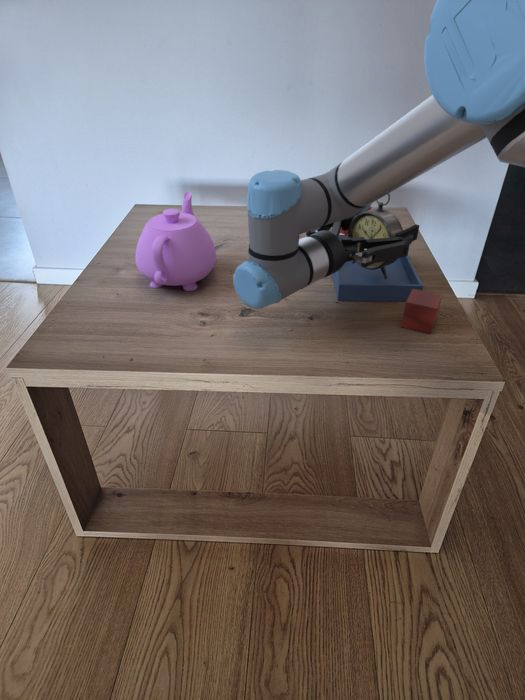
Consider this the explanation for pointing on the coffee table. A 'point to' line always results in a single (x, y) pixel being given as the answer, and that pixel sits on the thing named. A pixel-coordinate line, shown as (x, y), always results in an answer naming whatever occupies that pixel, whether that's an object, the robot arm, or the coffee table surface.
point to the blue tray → (376, 282)
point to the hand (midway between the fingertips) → (389, 223)
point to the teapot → (175, 248)
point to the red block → (421, 311)
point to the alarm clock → (375, 230)
